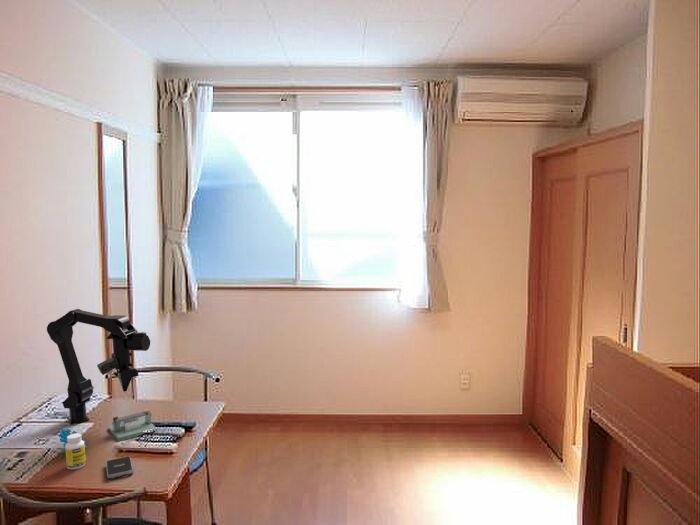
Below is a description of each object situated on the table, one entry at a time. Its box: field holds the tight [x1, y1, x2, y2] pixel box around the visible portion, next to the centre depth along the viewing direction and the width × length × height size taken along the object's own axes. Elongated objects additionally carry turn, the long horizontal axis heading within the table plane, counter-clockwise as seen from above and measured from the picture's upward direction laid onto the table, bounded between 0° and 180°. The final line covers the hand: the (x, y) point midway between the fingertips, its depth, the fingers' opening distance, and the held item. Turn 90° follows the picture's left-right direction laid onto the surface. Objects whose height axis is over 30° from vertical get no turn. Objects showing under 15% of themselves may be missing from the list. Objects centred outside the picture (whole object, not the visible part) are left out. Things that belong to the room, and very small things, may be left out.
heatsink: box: [121, 417, 140, 431], centre depth 198 cm, size 6×5×3 cm
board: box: [108, 416, 157, 442], centre depth 198 cm, size 14×13×1 cm
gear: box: [58, 428, 88, 454], centre depth 182 cm, size 11×6×10 cm
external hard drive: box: [105, 455, 134, 481], centre depth 167 cm, size 7×11×2 cm, turn 26°
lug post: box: [144, 411, 152, 424], centre depth 201 cm, size 4×1×6 cm, turn 36°
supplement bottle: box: [64, 432, 87, 470], centre depth 171 cm, size 5×5×10 cm
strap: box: [116, 408, 150, 422], centre depth 198 cm, size 11×2×2 cm, turn 126°
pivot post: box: [111, 416, 121, 432], centre depth 195 cm, size 4×2×6 cm, turn 36°
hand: (124, 391), depth 205 cm, fingers closed
